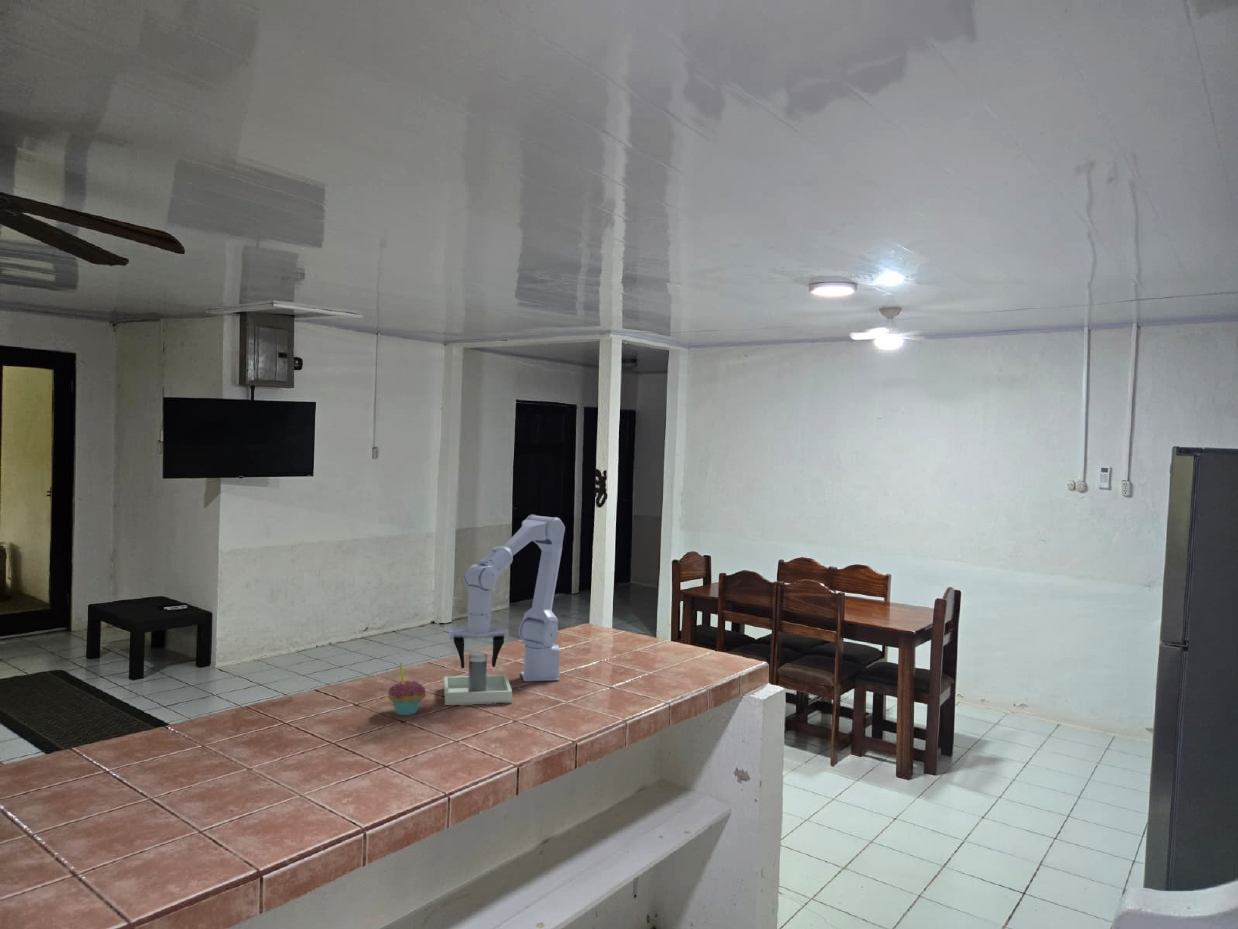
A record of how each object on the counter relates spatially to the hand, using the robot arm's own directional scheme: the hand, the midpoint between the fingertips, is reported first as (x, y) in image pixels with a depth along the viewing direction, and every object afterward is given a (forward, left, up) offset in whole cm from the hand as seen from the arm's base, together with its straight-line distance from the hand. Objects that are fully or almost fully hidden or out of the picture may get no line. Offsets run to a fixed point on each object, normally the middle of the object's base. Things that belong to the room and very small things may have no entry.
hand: (478, 666), depth 206 cm
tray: (0, 0, -7) cm, 7 cm away
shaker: (0, 0, -7) cm, 7 cm away
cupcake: (+17, +10, -8) cm, 21 cm away
